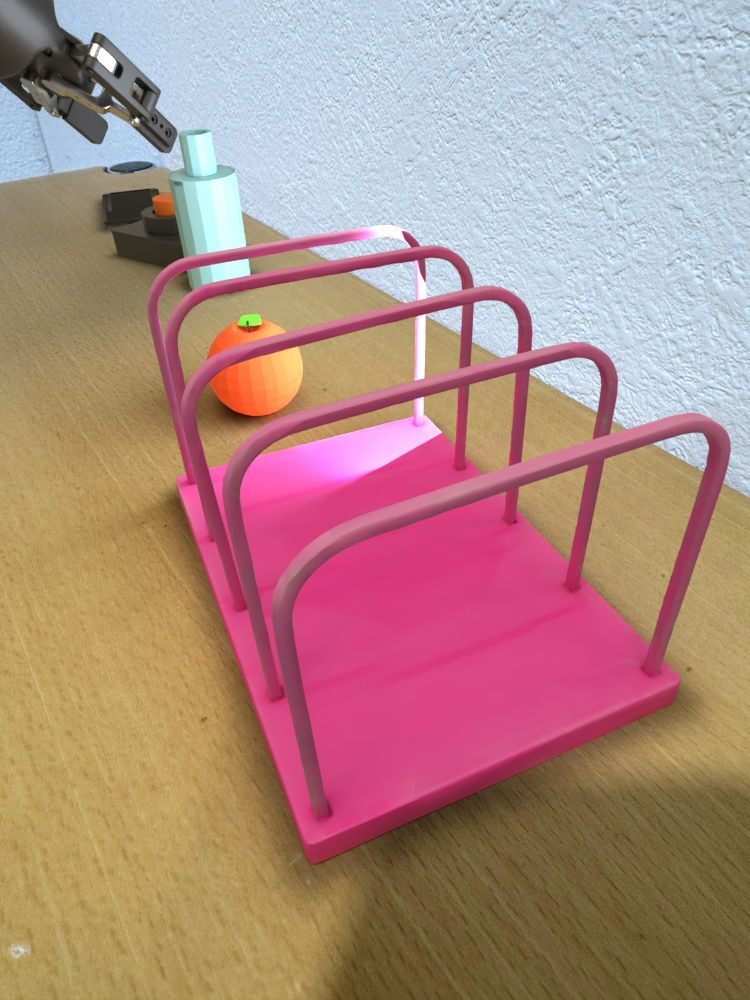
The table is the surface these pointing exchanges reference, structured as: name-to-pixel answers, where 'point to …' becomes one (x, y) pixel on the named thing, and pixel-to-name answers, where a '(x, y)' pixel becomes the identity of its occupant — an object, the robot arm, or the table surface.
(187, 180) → the mint green bottle
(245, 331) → the clementine
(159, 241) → the dock
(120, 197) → the phone
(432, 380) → the file sorter
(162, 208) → the button
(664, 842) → the table surface
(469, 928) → the table surface
